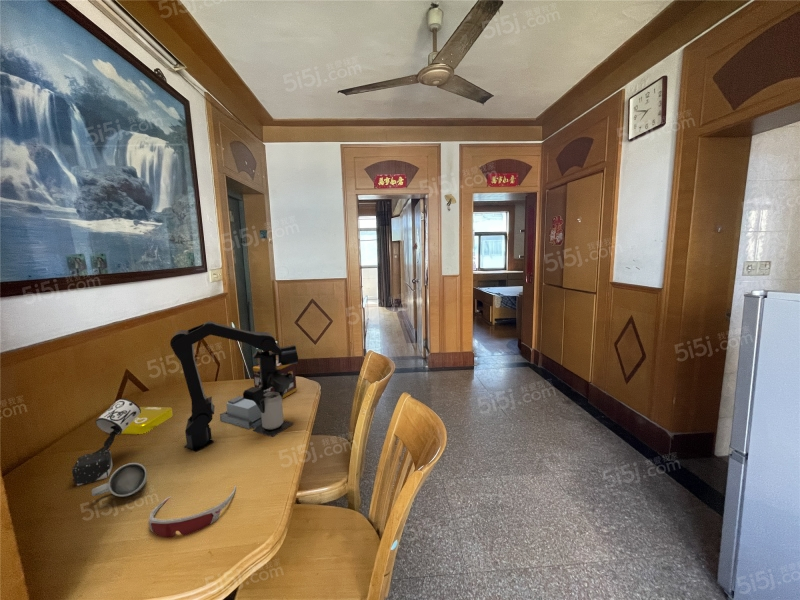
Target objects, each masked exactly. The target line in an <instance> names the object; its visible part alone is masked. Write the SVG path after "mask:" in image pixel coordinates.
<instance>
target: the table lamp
mask: <svg viewBox="0 0 800 600" xmlns="http://www.w3.org/2000/svg"><path fill="white" fill-rule="evenodd" d="M140 407H141V406H139V405H138V404H137V403H135V402H134V401H133V400H130V399H126V398H118V399H117V400H116V401H115V402H114V403H113V404H112V405H111V406H110V407H108V409H107V410H105V411H104V412H103V413H102V414H101V415H100V416H98V418H97V419H96V420H95V425H96V426H97V428H98V429H99V430H101V431H102V432H104V433H107V434H109V435H108V437H107V438H106V440H104V443H103V446H102V447H101V448H100V449H98V450H96V451H94V452H93V453H87V454H84V455H81V456H80V457H78V458H77V461H76V462H75V464H74V465H73V466H72V469H71V470H72V471H71V474H72V478H73V479H72V480H73V483H74V484H76V486H77V487H78V486H82V485H88V484H90V483H95V482H96V481H99V480H100V481H101V480H103V479H107V478H109V477H110V474H111V471H112V469H113V465H114V463H113V457H112V452H111V448H110V447H111V446H112V445H113V443H114V441H115V437H116V436H119V435H122V434H121V433H122V432H123V431H124V430H125V428H126V427H127V426H128V425H129V424H130V423H131V422H132V421H133V420H134V419H135V418H136V417H137V416H138V415H139V414H140V413H141V409H140Z"/></svg>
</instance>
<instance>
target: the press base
mask: <svg viewBox="0 0 800 600" xmlns="http://www.w3.org/2000/svg"><path fill="white" fill-rule="evenodd" d="M219 418H220V421H221V422H223V423H225V424H226V423H227V424H230V425H233V426H237V427H240V428H244V429H246V430H251V429H252V432H254V433H257V434H262V435H265V436H268V437H271V438H274V437H275V436H277V435H279V434H280V433H282V432H284V431H285V430H286V429H289V427H292V426H293V425H294V423H293V422H291V421H288V420H284V419H283V421H284V422H283V423H282V424H281V426H280V427H278V428H275V429H265V428H264V427H262V418H259V419H257V420H255V421H254V422H252V421H249V420H246V419H242V418H239V417H235V416H231V415H228V414H227V410H226V411H224V412H222V413H220V414H219Z"/></svg>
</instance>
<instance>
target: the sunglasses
mask: <svg viewBox="0 0 800 600" xmlns="http://www.w3.org/2000/svg"><path fill="white" fill-rule="evenodd" d="M236 488H237V486H236V484H235V485H234V487H233V490H232V492H231V493H230V495H229V496H228V497H227V498H226V499H225V500H223V501H222V502H221V503H219V504H218V505H216V506H212V507H211V508H209V509H207V510H204V511H202V512H199V513H196V514H192V515H189V516H184V517H179V518H170V519H160V518H156V517H155V515H156V513H157V512H158V510H159V509H160V508H161V507H162V506H163V505H164V504H165V503H166V502H168V500H169V499H170V498H171V497H172V496H170V495H169V496H168V497H166V498H165V499H164V500H162V501H161V502H160V503H159V504H158V505H157V506H156V507H154V508H153V509H152V511H151V512H150V514H149V518H148V526H149V529H150V531H151V532H152V533H153V534H155V535H156V536H158V537H161V538H162V537H163V538H173V537H174V535H175V534H176V532H179V533H180V534H181V535H183V536H188V535H190V534H192V533H196V532H199V531H200V530H202V529H204V528H206V527H207V526H210V525H212V523H215V522H217V521H218V519H219V517H220V514H221V511H223V509H224V508H226V507H227V506H228V505H229V503H230V501H231V500H232V499H233V496H234V495H235V492H236Z"/></svg>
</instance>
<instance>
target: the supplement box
mask: <svg viewBox="0 0 800 600" xmlns="http://www.w3.org/2000/svg"><path fill="white" fill-rule="evenodd" d="M276 364H277V369H279V370H280V373H281V374H283V373H284V374H288V373H291V374H292V375H293V380H294V382H293V383H291V384H290V386H289V388H288V389H286V390H285V391H284V394H283V398H282V400H283V399H285V398H286V397H288V396H290V395H291V394H293V393H296V391H297V379H296V378H297V377H296V367H295V366H296V363H295V364H289V365H283V366H282V365H281V363H278V359H277V357H276ZM258 371H260V365H259V364H258V365H255V366H253V367H252V374H253V381H254V382H253V383H254V384H253V385H254V386H253V387H256V388H260V387H261V385H259V383H258V382H260V381H261V377H260V374H258ZM269 392H275V390H274V388H271V389H268V390H266V391H264V394H266V393H269Z"/></svg>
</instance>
